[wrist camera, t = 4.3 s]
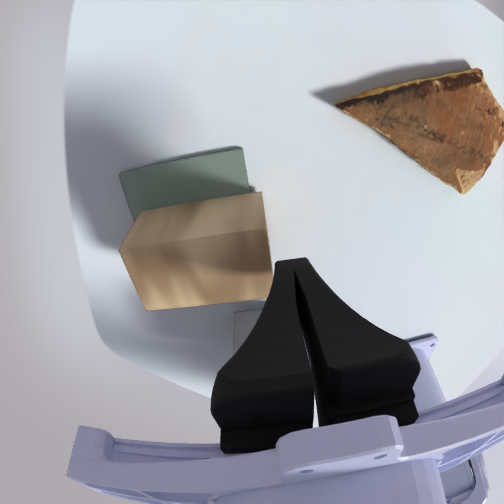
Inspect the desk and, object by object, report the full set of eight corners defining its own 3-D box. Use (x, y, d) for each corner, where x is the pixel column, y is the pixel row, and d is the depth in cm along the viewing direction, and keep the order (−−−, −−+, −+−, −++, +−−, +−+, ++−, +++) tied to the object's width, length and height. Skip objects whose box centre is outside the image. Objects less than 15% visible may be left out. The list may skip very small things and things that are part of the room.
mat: (264, 282, 20) (265, 284, 20) (164, 293, 21) (163, 296, 21) (242, 147, 15) (242, 149, 15) (120, 173, 16) (118, 174, 16)
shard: (326, 101, 14) (335, 106, 13) (388, -3, 11) (402, -8, 9) (453, 192, 17) (467, 204, 16) (503, 107, 14) (519, 114, 12)
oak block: (275, 296, 15) (146, 310, 16) (270, 252, 19) (160, 266, 19) (266, 227, 13) (118, 249, 14) (261, 191, 17) (141, 211, 17)
